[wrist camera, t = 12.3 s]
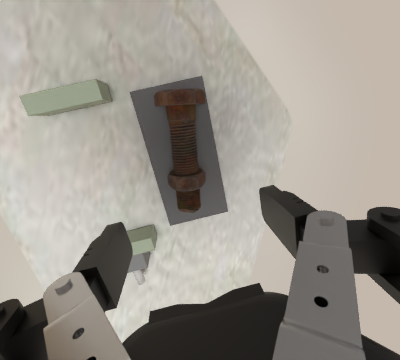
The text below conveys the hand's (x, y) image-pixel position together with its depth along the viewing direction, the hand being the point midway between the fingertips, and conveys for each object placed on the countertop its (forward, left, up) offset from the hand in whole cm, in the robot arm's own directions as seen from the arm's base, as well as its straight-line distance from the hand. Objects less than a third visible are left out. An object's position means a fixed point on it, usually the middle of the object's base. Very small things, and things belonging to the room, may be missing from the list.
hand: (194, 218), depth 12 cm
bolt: (-1, 0, -17) cm, 17 cm away
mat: (0, 0, -18) cm, 18 cm away
